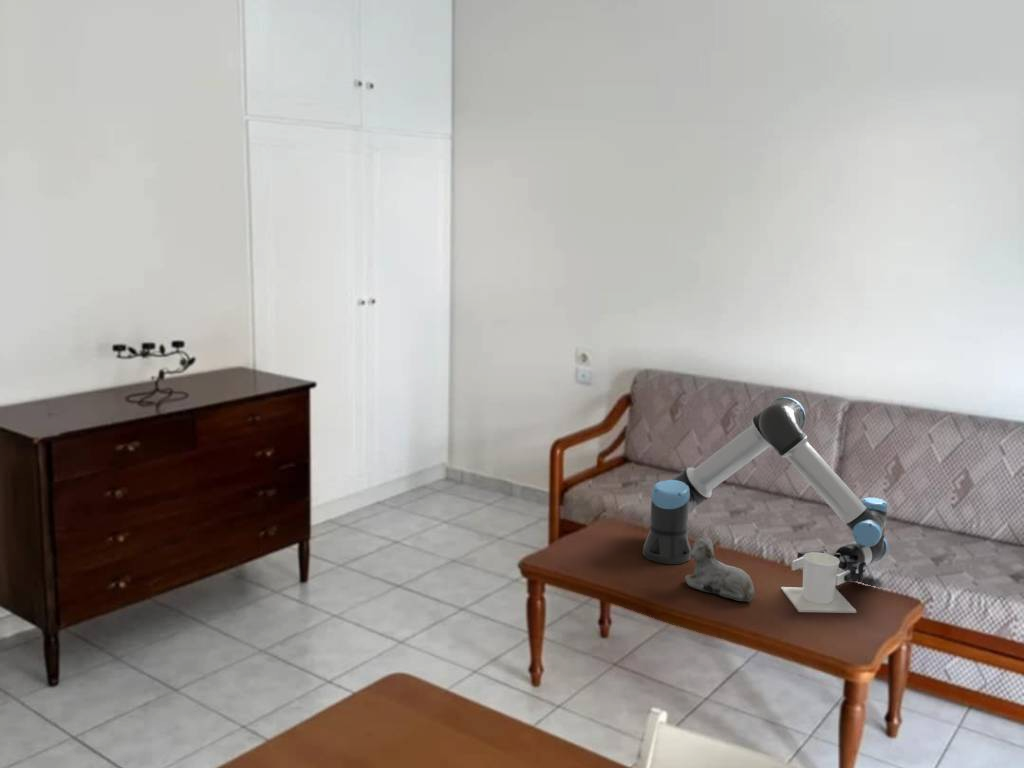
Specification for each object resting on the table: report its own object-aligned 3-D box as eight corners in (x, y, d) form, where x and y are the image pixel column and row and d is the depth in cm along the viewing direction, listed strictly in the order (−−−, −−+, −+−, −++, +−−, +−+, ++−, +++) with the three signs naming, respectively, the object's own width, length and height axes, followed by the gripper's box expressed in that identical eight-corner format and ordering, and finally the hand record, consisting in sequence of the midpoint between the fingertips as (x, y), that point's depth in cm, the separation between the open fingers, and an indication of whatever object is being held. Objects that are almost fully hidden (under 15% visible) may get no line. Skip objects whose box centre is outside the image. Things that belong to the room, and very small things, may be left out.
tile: (781, 588, 274) (781, 586, 274) (835, 589, 275) (835, 588, 274) (799, 611, 258) (799, 609, 258) (856, 613, 259) (856, 610, 259)
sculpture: (687, 579, 279) (691, 531, 277) (759, 593, 271) (763, 544, 268) (677, 592, 270) (681, 542, 267) (751, 607, 261) (755, 556, 258)
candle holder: (799, 589, 272) (803, 550, 270) (835, 594, 270) (839, 554, 268) (799, 602, 263) (803, 562, 261) (836, 607, 260) (840, 566, 258)
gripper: (892, 581, 268) (854, 600, 254) (813, 556, 286) (774, 572, 273) (894, 556, 267) (857, 573, 253) (816, 532, 285) (776, 547, 271)
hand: (814, 573), depth 263 cm, fingers open, 13 cm apart
